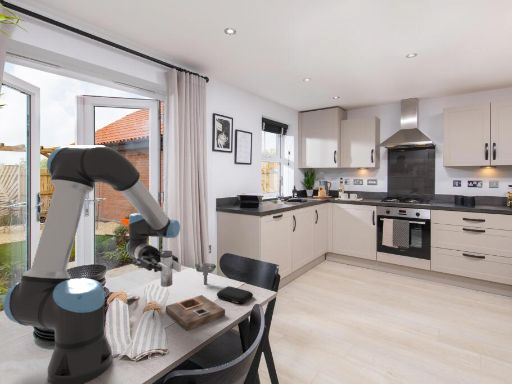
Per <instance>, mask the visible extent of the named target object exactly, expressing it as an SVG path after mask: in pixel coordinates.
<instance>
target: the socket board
mask: <svg viewBox="0 0 512 384" xmlns="http://www.w3.org/2000/svg"><path fill="white" fill-rule="evenodd" d="M165 313H166V314H167V315H168V316H169V317H170V318H171V319H173V321H175V322H176V323H177V324H178V325H179V326H181V327H182V328H183V329H184V330H185V331H189V330H192V329H195V328H197V327H200V326H203V325H205V324H208V323H211V322H214V321H216V320H218V319H221V318H224V317H225V316H226V309H225V308H223V307H222V306H220V305H218V304H217V303H215V302H214V301H212V300H211V299H209V298H207V297H206V296H204V295H202V294H201V295H197V296H194V297H192V298H191V297H190V298H187V299H184V300H181V301H178V302H175V303H172V304H168V305H165Z"/></svg>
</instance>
